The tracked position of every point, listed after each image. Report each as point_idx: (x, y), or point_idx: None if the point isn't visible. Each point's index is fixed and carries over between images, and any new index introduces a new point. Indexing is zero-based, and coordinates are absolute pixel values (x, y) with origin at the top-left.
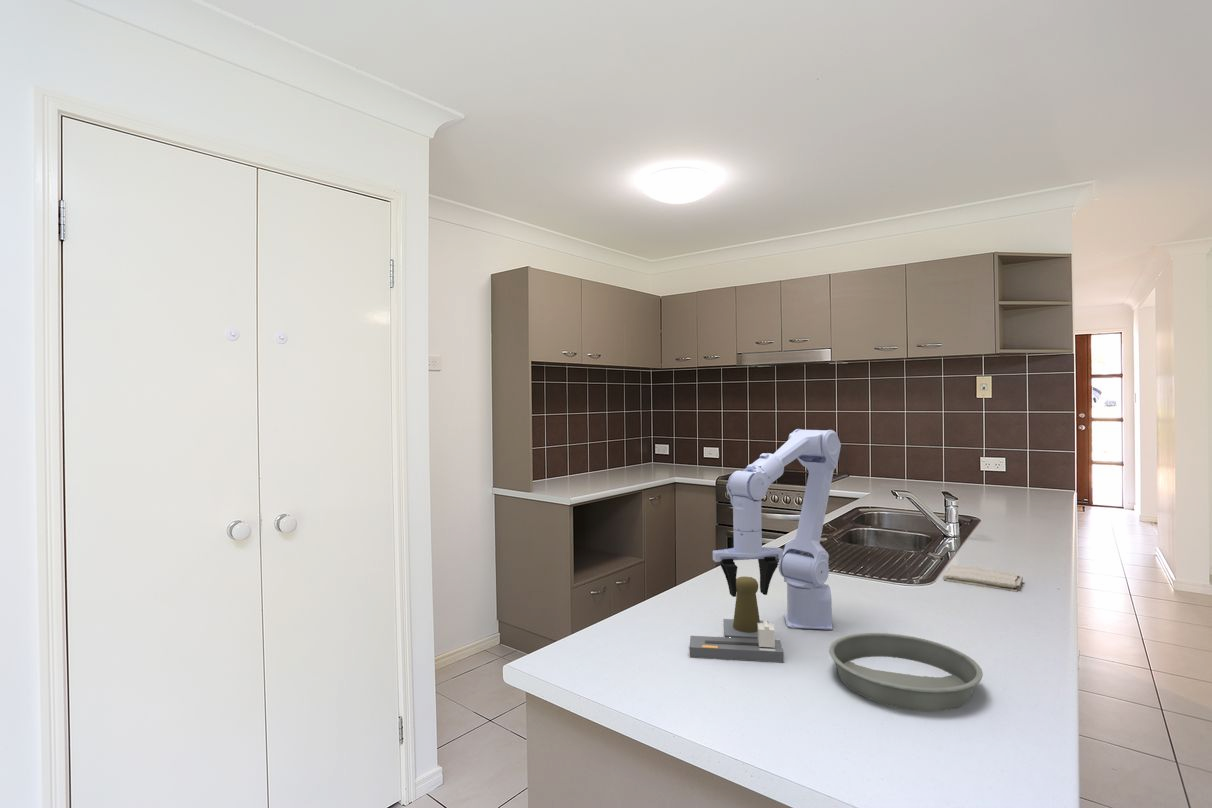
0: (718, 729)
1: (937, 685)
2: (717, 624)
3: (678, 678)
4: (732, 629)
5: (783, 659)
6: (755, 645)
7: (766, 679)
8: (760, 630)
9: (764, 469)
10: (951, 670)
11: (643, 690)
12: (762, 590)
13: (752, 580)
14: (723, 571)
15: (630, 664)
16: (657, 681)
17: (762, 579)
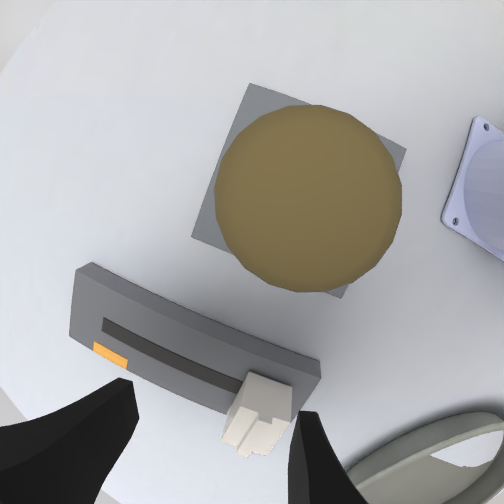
0: (114, 484)
1: (449, 483)
2: (216, 111)
3: (65, 387)
4: None
5: None
6: (228, 390)
7: (210, 450)
8: (226, 440)
9: None
10: (497, 459)
11: (30, 391)
12: (292, 444)
13: (342, 267)
14: (19, 424)
15: (3, 309)
16: (40, 380)
17: (298, 488)
